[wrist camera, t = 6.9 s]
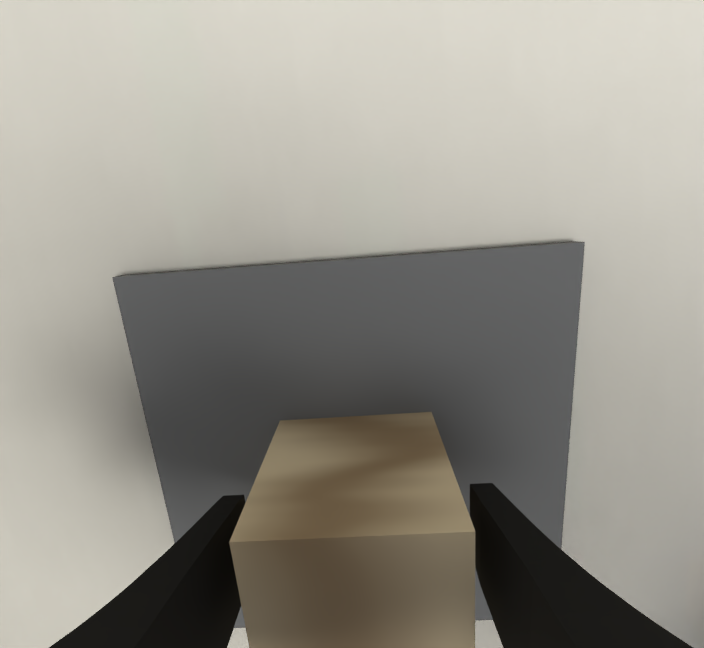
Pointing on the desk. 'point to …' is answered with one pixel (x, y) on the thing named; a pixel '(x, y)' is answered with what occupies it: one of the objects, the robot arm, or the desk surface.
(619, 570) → the desk surface
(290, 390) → the charcoal mat
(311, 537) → the maple cube
